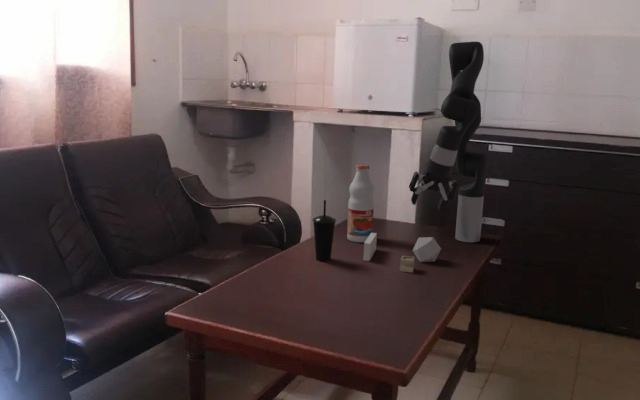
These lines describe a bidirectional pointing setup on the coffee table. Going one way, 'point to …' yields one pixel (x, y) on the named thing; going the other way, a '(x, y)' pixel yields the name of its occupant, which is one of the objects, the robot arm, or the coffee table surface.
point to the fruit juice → (360, 206)
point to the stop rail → (370, 246)
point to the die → (426, 249)
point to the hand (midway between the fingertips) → (426, 206)
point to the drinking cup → (323, 235)
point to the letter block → (407, 264)
